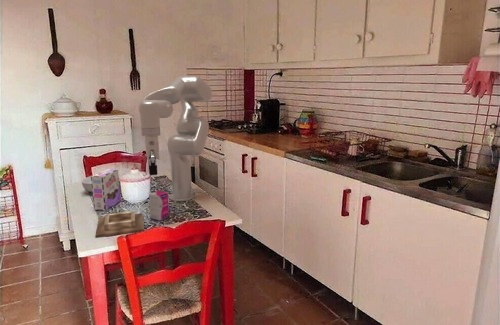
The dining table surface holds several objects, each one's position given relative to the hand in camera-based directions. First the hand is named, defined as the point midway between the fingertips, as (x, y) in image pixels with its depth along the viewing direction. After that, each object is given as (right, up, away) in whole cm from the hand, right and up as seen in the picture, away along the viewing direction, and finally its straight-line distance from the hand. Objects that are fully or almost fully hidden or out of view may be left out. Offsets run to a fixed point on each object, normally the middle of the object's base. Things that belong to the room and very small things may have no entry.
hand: (153, 172), depth 156 cm
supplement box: (+2, -20, +4) cm, 21 cm away
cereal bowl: (-39, -11, +41) cm, 58 cm away
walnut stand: (-12, -22, -4) cm, 25 cm away
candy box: (-26, -17, +20) cm, 37 cm away
